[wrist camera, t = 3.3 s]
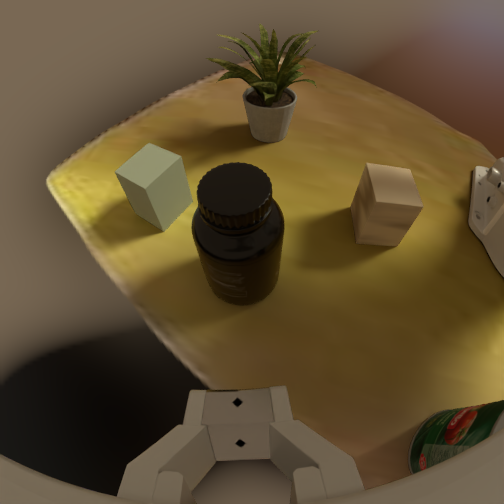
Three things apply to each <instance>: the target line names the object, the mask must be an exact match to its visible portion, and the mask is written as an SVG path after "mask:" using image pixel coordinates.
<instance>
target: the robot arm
mask: <svg viewBox="0 0 504 504" xmlns="http://www.w3.org/2000/svg"><path fill="white" fill-rule="evenodd" d="M468 223H469V226H470V228H471V229H472V231H473V232H474V233H475V234H476V236H477V237H478V238H479V239H480V240H481V241H482V243H483V244H484V246H485V248H486V250H487V252H488V254H489V256H490V258H491V260H492V262H493V263H494V265H495V267H496V268H497V270H498V271H499V272H500V274H501V275H502V276H503V277H504V158H500V159H498V160H497V161H496V162H495V163H494V165H493V166H492V167H490V169H489V168H486V167H482V166H476V167H475V168H474V170H473V181H472V194H471V203H470V212H469V220H468ZM248 459H271V461H272V462H273V463H274V464H275V465H276V466H277V467H278V468H279V469H280V470H281V471H282V473H283V474H284V475H285V476H286V477H287V478H288V479H289V480H290V481H291V482H292V488H291V498H290V504H504V428H503V429H501V430H500V431H498V432H496V433H495V434H493V435H492V436H490V437H488V438H487V439H485V440H483V441H482V442H480V443H478V444H476V445H475V446H473V447H471V448H469V449H467V450H465V451H463V452H462V453H460V454H458V455H456V456H454V457H452V458H450V459H447V460H445V461H443V462H441V463H439V464H437V465H434V466H432V467H430V468H427V469H425V470H423V471H420V472H418V473H415V474H413V475H410V476H407V477H405V478H402V479H399V480H396V481H393V482H390V483H387V484H384V485H381V486H378V487H374V488H371V489H367V490H365V488H364V486H363V483H362V480H361V477H360V475H359V472H358V469H357V467H356V464H355V461H354V459H353V457H352V456H350V455H348V454H347V453H345V452H344V451H342V450H341V449H339V448H338V447H336V446H335V445H333V444H332V443H330V442H329V441H328V440H326V439H325V438H323V437H322V436H320V435H319V434H318V433H316V432H315V431H313V430H312V429H311V428H309V427H308V426H306V425H305V424H304V423H302V422H301V421H300V420H294V419H293V414H292V410H291V405H290V401H289V396H288V392H287V387H286V386H285V385H283V386H274V387H267V388H255V389H240V390H191V391H190V393H189V397H188V402H187V407H186V412H185V417H184V421H183V425H177V426H176V427H175V428H174V429H172V430H171V431H170V432H169V433H167V434H166V435H165V436H164V437H163V438H161V439H160V440H159V441H157V442H156V443H155V444H154V445H152V446H151V447H150V448H149V449H147V450H146V451H145V452H143V453H142V454H141V455H139V456H138V457H137V458H135V459H134V460H133V461H131V462H130V463H129V464H127V467H126V470H125V473H124V476H123V479H122V482H121V485H120V488H119V491H118V494H117V497H115V496H111V495H107V494H103V493H99V492H96V491H92V490H88V489H85V488H81V487H78V486H75V485H72V484H69V483H66V482H63V481H60V480H58V479H55V478H52V477H49V476H47V475H44V474H42V473H39V472H37V471H34V470H32V469H30V468H28V467H26V466H23V465H21V464H19V463H17V462H15V461H13V460H10V459H9V458H7V457H5V456H3V455H1V454H0V504H197V503H196V501H195V499H194V497H193V495H192V493H191V492H192V490H193V489H194V488H195V487H196V486H197V484H198V483H199V482H200V481H201V480H202V479H203V477H204V476H205V475H206V474H207V472H208V471H209V470H210V469H211V468H212V466H213V465H214V464H215V462H216V461H226V460H248Z"/></svg>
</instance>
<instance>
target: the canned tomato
mask: <svg viewBox="0 0 504 504" xmlns="http://www.w3.org/2000/svg"><path fill="white" fill-rule="evenodd" d="M503 428H504V400H501V401H498V402H493V403H488V404H482V405H477V406H471V407H465V408H459V409H458V408H457V409H453V410H443V411H440V412H437V413H435V414H433V415H432V416H430V417H429V418H428V419H427V420H426V421H424V422H423V424H422V425H421V426H420V427H419V429H418V430H417V432H416V433H415V435H414V437H413V439H412V442H411V444H410V448H409V453H408V465H409V469H410V472H411V473H412V475H413V474H415V473H418V472H420V471H423V470H425V469H427V468H430V467H432V466H434V465H437V464H439V463H441V462H443V461H445V460H447V459H450V458H452V457H454V456H456V455H458V454H460V453H462V452H463V451H465V450H467V449H469V448H471V447H473V446H475V445H476V444H478V443H480V442H482V441H483V440H485V439H487V438H488V437H490V436H492V435H493V434H495V433H496V432H498V431H500V430H501V429H503Z"/></svg>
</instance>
